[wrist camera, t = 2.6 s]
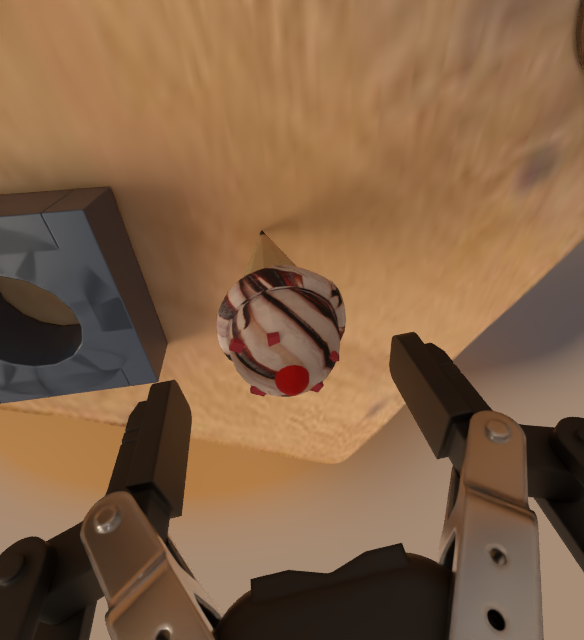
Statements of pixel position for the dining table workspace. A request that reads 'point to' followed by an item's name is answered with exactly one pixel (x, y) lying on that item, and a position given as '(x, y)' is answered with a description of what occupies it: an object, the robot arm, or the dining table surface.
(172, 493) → the robot arm
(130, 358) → the cone stand
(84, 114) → the dining table surface
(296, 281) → the ice cream cone
